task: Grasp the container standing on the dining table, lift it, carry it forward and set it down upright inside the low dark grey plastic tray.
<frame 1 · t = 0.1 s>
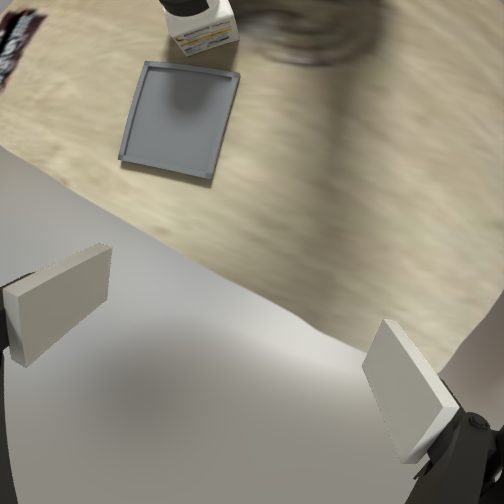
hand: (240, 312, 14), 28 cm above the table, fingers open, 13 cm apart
container: (206, 28, 35), on the table
tray: (177, 116, 38), on the table
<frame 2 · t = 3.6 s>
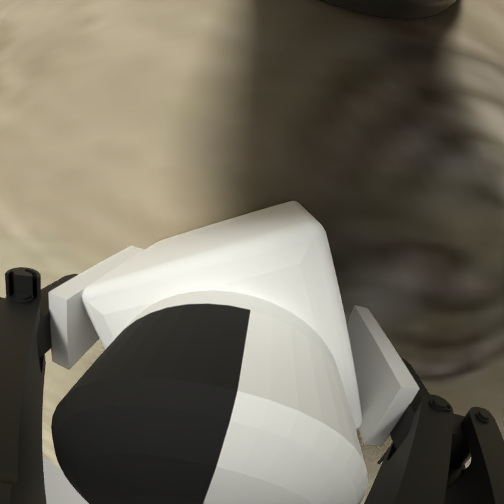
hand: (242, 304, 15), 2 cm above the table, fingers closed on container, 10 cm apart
container: (246, 289, 17), on the table, touching gripper
when the fingers open (5 cm above the table, at t = 8.1 s): container drops 2 cm, resting on tray.
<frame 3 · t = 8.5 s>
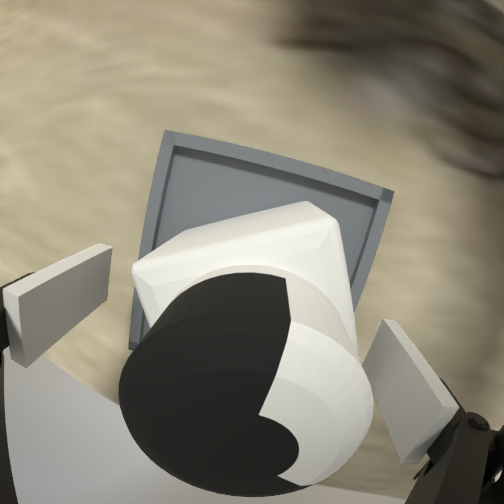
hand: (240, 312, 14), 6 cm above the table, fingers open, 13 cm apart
container: (260, 276, 19), resting on tray
tray: (249, 274, 19), on the table
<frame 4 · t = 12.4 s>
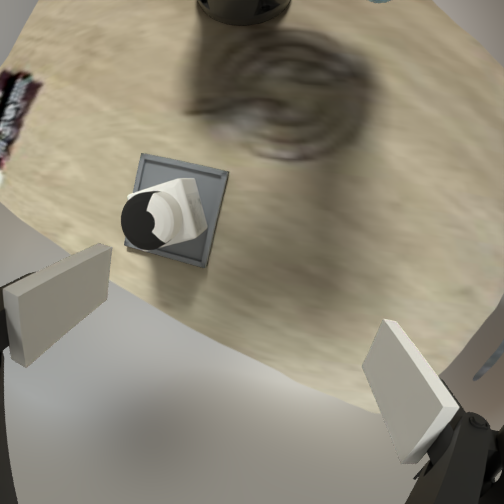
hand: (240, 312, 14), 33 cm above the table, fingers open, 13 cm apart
container: (177, 209, 46), resting on tray
tray: (174, 209, 46), on the table
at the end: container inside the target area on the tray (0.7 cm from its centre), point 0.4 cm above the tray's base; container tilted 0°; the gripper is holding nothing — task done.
